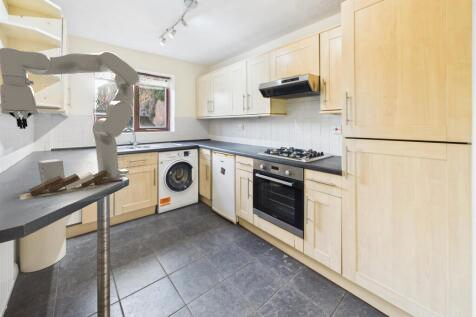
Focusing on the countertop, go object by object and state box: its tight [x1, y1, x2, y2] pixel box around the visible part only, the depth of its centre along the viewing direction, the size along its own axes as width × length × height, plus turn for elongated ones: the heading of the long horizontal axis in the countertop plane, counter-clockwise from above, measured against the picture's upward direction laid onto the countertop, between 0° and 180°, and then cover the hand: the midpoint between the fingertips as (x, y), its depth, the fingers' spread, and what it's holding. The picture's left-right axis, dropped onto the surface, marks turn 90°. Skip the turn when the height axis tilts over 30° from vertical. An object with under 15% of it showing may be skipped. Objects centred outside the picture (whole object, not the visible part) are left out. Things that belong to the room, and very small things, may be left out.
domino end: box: [28, 176, 64, 196], centre depth 92 cm, size 2×5×11 cm
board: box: [18, 183, 100, 201], centre depth 95 cm, size 26×9×1 cm, turn 136°
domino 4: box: [94, 177, 124, 186], centre depth 108 cm, size 2×5×11 cm
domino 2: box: [65, 172, 95, 190], centre depth 99 cm, size 2×5×11 cm
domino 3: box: [80, 170, 109, 187], centre depth 104 cm, size 2×5×11 cm
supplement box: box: [37, 158, 66, 184], centre depth 102 cm, size 7×7×13 cm
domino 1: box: [47, 173, 80, 193], centre depth 96 cm, size 2×5×11 cm
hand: (22, 128), depth 92 cm, fingers closed
